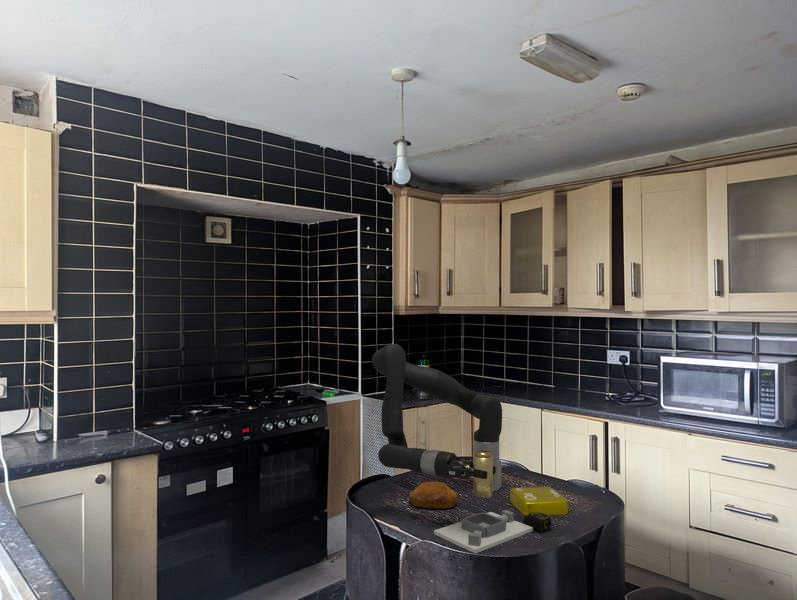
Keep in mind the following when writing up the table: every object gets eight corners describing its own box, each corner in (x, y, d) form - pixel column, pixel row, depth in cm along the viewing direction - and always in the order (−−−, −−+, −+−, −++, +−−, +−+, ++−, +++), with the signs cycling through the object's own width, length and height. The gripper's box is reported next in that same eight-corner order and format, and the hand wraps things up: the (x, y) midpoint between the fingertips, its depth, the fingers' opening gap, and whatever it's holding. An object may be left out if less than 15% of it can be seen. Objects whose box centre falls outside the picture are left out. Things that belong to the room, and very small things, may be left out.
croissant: (453, 519, 169) (457, 494, 169) (405, 508, 172) (408, 484, 172) (458, 502, 183) (461, 479, 183) (413, 493, 187) (416, 470, 187)
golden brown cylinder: (482, 490, 157) (482, 449, 158) (496, 495, 153) (496, 452, 153) (469, 493, 154) (469, 451, 154) (483, 498, 150) (483, 455, 150)
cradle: (490, 515, 167) (490, 503, 167) (532, 530, 154) (532, 518, 154) (433, 534, 152) (433, 521, 152) (475, 553, 139) (475, 539, 139)
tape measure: (521, 527, 158) (521, 514, 158) (537, 522, 161) (537, 509, 162) (540, 535, 152) (539, 521, 152) (555, 529, 156) (555, 516, 156)
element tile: (570, 515, 168) (570, 499, 168) (524, 517, 166) (524, 501, 166) (550, 499, 183) (550, 484, 183) (508, 501, 181) (508, 486, 181)
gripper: (427, 456, 155) (481, 465, 146) (450, 446, 168) (500, 454, 158) (427, 482, 155) (481, 492, 146) (449, 470, 167) (500, 479, 158)
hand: (491, 472), depth 152 cm, fingers closed on golden brown cylinder, 5 cm apart
